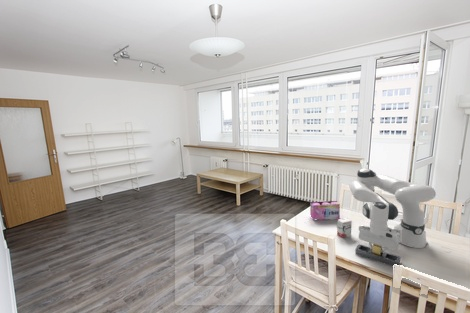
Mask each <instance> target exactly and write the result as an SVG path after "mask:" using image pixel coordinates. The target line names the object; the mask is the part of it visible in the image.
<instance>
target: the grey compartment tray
mask: <svg viewBox="0 0 470 313" xmlns="http://www.w3.org/2000/svg"><path fill="white" fill-rule="evenodd" d="M372 253H373V250H371V249H370V246H366V245H363V244H360V243H358V245H357V246H356V248H355V255H357V256H360V257H364V258H366V259H369V260H372V261H376V262H378V263H380V264H384V265H387V266H390V267H392V266H393V265H394V264H397V265H399V266H400V265H401V261H402V260H401V258H402V257H401V256H399V255H396V254H392V253H389V252H385V251H384V253H382V254H381V256H378V255H375V254H372Z"/></svg>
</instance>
